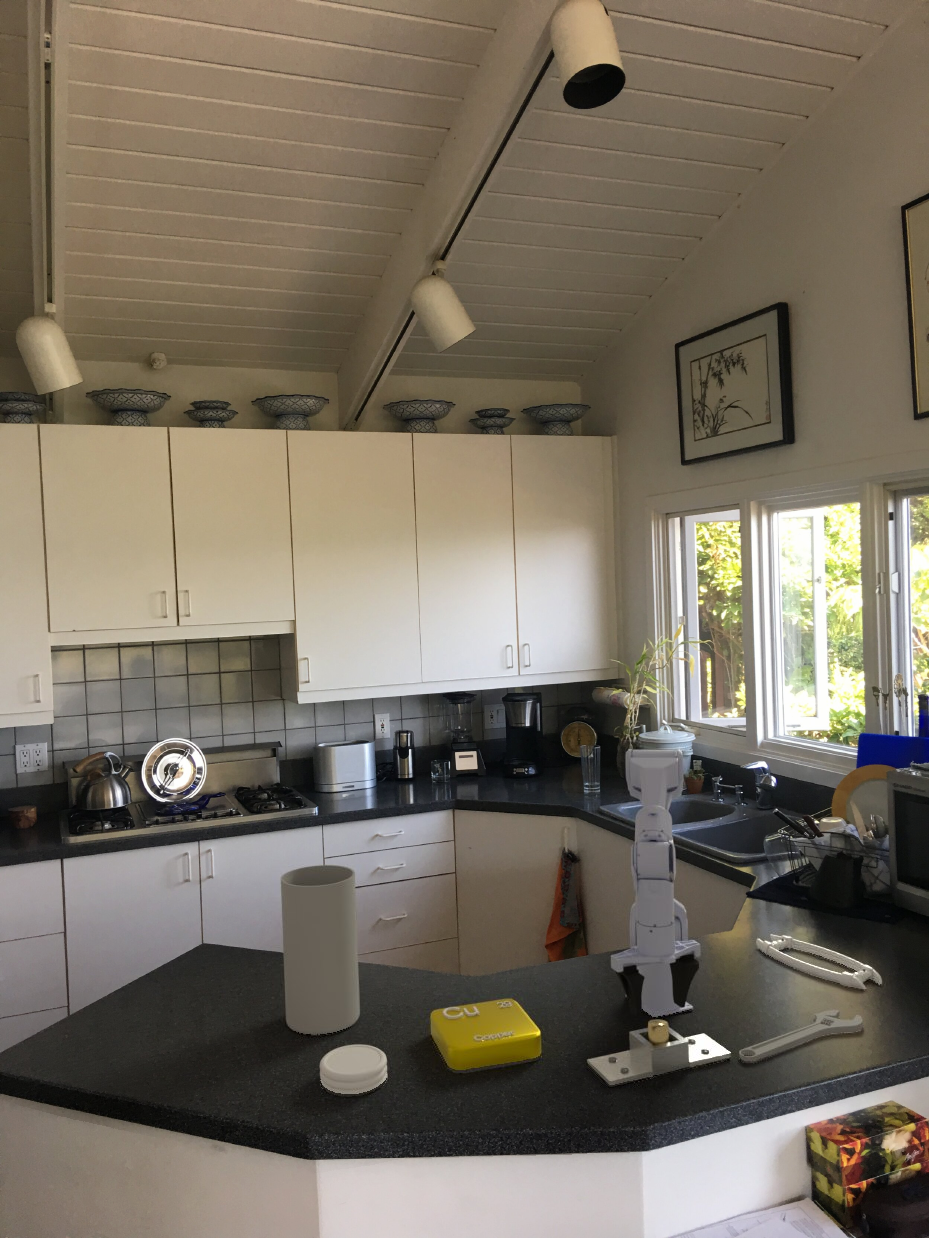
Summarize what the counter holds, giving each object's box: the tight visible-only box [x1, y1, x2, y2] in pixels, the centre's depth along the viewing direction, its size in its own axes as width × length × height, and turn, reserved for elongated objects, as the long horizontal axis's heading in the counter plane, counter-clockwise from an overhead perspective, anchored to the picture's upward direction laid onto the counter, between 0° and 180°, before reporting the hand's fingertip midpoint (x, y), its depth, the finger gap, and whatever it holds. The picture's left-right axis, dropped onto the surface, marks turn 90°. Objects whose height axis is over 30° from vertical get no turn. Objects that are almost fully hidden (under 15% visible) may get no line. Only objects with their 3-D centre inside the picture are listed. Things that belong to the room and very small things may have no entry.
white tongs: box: [755, 934, 883, 990], centre depth 179 cm, size 3×10×25 cm
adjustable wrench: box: [738, 1009, 864, 1062], centre depth 150 cm, size 25×6×2 cm, turn 115°
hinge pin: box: [647, 1018, 669, 1046], centre depth 143 cm, size 3×3×6 cm
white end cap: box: [319, 1044, 388, 1094], centre depth 141 cm, size 10×10×4 cm
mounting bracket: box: [586, 1025, 732, 1085], centre depth 143 cm, size 7×21×4 cm, turn 110°
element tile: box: [430, 998, 542, 1070], centre depth 151 cm, size 15×15×5 cm
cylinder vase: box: [280, 864, 361, 1036], centre depth 162 cm, size 12×12×25 cm
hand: (657, 1009), depth 143 cm, fingers open, 7 cm apart
